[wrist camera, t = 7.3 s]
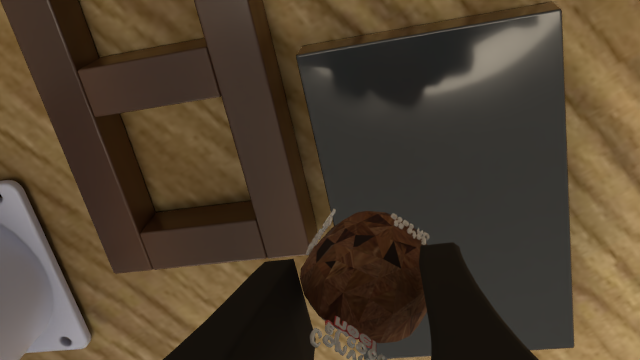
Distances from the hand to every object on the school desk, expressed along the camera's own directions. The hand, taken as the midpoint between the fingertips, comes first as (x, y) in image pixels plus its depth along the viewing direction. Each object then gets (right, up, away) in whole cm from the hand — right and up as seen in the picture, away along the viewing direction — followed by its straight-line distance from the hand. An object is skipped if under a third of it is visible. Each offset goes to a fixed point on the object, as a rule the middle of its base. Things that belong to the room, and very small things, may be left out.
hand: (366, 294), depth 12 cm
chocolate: (+1, +1, +2) cm, 2 cm away
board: (+3, +2, +9) cm, 10 cm away
